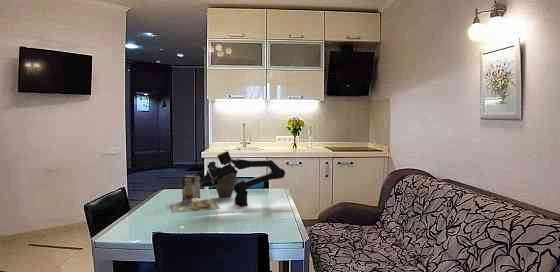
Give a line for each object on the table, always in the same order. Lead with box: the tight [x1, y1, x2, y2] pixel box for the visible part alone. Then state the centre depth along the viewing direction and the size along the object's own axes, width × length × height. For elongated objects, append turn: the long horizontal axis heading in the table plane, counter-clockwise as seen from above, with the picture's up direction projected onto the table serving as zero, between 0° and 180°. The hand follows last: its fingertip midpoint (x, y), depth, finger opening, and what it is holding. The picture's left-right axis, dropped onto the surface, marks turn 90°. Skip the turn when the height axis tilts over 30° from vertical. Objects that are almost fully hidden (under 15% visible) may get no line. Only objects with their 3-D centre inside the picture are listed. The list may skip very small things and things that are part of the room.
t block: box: [191, 197, 212, 209], centre depth 221 cm, size 10×10×4 cm
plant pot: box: [215, 173, 237, 199], centre depth 250 cm, size 15×15×16 cm
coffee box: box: [181, 174, 201, 203], centre depth 237 cm, size 9×6×16 cm
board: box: [169, 201, 221, 214], centre depth 220 cm, size 26×20×1 cm
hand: (199, 184), depth 221 cm, fingers open, 9 cm apart
